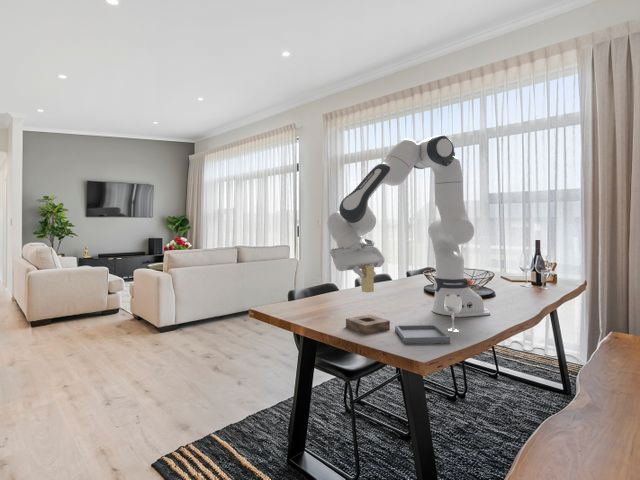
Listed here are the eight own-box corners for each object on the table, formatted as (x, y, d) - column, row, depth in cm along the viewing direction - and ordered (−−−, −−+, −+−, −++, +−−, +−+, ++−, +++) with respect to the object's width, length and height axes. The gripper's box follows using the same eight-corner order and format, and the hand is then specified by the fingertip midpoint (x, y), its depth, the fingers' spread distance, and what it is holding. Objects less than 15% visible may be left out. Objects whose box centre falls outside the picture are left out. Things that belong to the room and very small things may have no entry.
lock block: (369, 322, 141) (369, 314, 141) (389, 329, 132) (389, 320, 132) (345, 326, 136) (345, 318, 135) (365, 334, 126) (364, 325, 126)
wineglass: (441, 328, 133) (441, 294, 132) (457, 327, 133) (457, 293, 133) (448, 332, 127) (448, 297, 126) (464, 332, 127) (465, 297, 127)
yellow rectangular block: (368, 290, 135) (368, 265, 135) (373, 291, 133) (373, 266, 132) (361, 291, 134) (361, 266, 133) (367, 292, 131) (366, 266, 131)
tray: (435, 330, 130) (435, 324, 130) (449, 343, 116) (449, 336, 116) (395, 330, 130) (395, 325, 130) (404, 344, 116) (404, 337, 116)
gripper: (331, 242, 133) (348, 273, 125) (376, 240, 143) (394, 268, 136) (325, 254, 137) (340, 285, 129) (369, 251, 147) (386, 279, 140)
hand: (368, 276), depth 132 cm, fingers closed on yellow rectangular block, 3 cm apart
